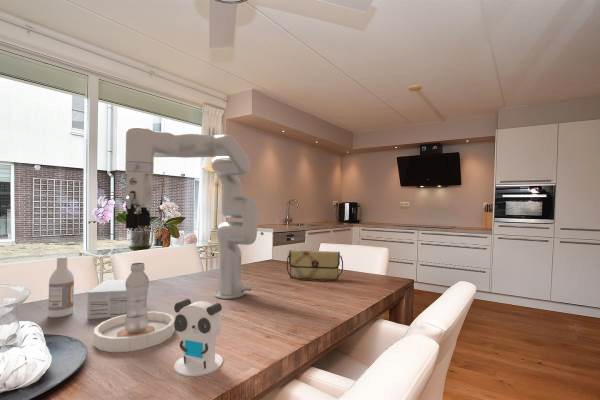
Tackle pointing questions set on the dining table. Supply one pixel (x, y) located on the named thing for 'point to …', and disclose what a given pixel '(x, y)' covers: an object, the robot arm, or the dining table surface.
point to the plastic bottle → (136, 299)
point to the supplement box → (107, 299)
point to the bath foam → (61, 290)
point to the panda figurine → (197, 337)
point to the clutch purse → (314, 265)
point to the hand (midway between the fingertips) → (138, 226)
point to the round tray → (119, 340)
